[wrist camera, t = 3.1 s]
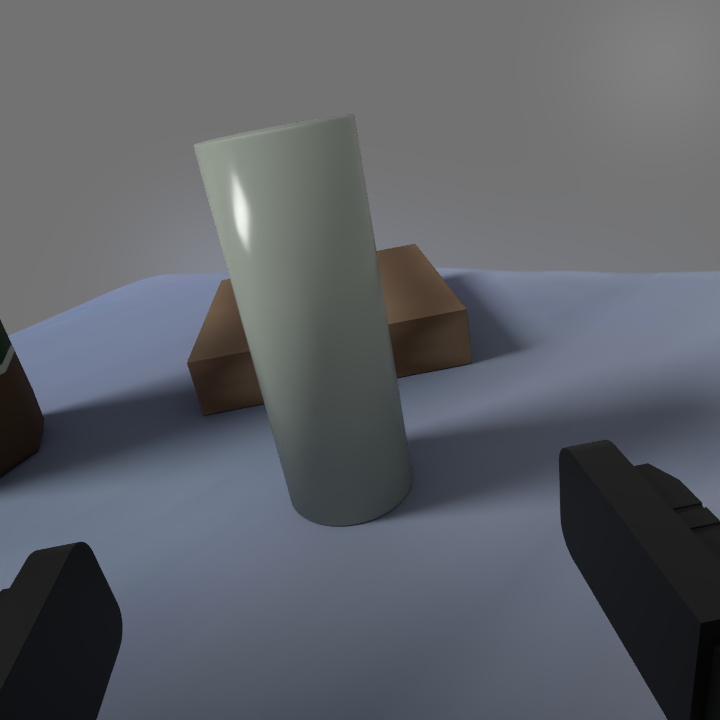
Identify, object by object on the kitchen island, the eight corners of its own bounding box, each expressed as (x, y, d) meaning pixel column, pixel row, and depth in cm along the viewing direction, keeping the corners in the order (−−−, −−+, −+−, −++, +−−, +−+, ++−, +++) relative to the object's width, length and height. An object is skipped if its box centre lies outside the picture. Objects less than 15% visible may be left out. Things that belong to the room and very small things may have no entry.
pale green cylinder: (289, 537, 20) (179, 151, 15) (291, 460, 25) (206, 139, 19) (423, 510, 20) (362, 116, 15) (401, 438, 25) (347, 112, 19)
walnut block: (203, 415, 30) (187, 363, 28) (232, 319, 42) (221, 280, 41) (471, 363, 30) (466, 308, 29) (420, 283, 43) (415, 243, 41)
